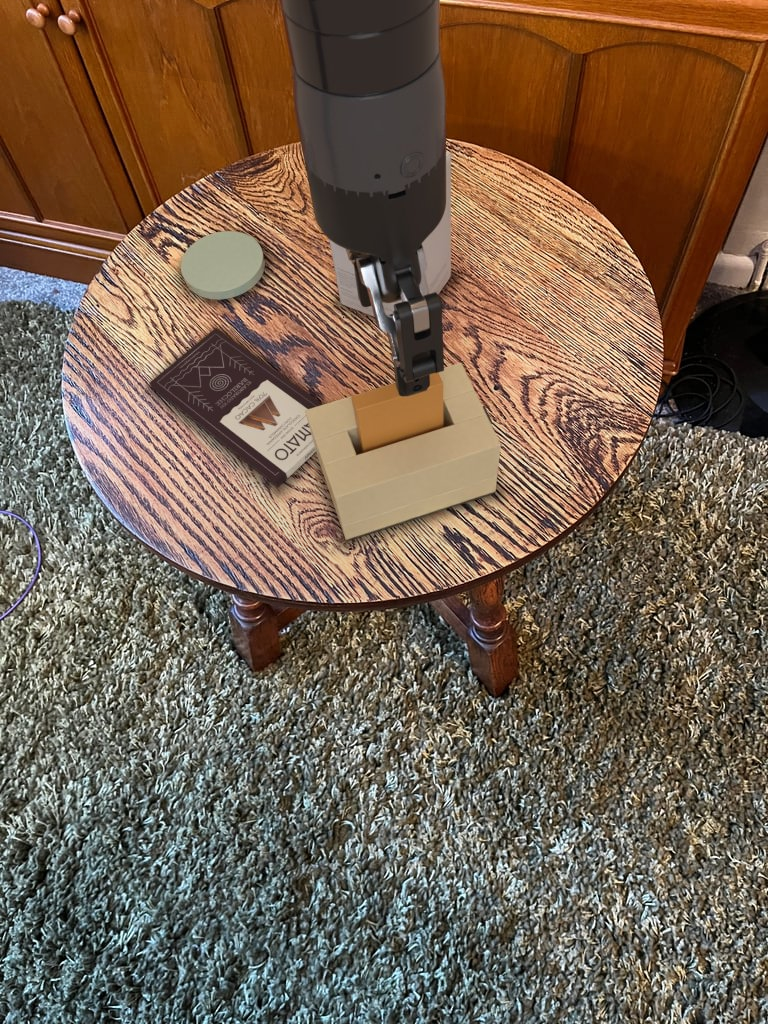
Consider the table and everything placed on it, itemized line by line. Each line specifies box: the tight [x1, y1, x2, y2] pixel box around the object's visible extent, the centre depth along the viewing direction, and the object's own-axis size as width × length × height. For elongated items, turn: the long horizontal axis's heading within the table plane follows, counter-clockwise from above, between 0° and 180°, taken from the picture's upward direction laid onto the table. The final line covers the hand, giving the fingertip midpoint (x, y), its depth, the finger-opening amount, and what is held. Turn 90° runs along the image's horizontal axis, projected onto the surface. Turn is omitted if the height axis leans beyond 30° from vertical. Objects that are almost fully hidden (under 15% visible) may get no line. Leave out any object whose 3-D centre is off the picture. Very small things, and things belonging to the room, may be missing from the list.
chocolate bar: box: [149, 327, 324, 489], centre depth 75 cm, size 9×1×18 cm
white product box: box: [328, 150, 452, 317], centre depth 74 cm, size 9×9×15 cm
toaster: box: [305, 362, 502, 543], centre depth 67 cm, size 15×9×8 cm, turn 108°
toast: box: [351, 373, 443, 454], centre depth 63 cm, size 7×1×10 cm, turn 108°
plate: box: [180, 230, 266, 300], centre depth 84 cm, size 9×9×1 cm
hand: (393, 344), depth 54 cm, fingers open, 8 cm apart
